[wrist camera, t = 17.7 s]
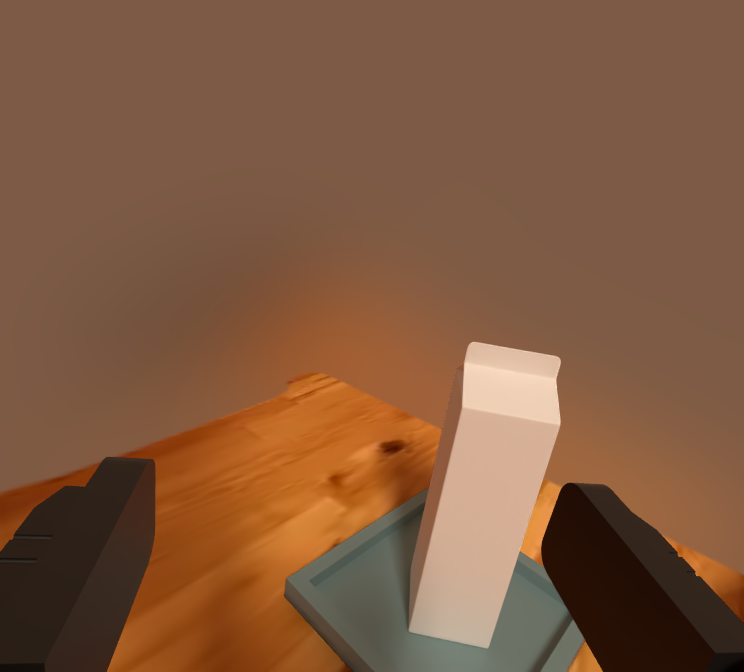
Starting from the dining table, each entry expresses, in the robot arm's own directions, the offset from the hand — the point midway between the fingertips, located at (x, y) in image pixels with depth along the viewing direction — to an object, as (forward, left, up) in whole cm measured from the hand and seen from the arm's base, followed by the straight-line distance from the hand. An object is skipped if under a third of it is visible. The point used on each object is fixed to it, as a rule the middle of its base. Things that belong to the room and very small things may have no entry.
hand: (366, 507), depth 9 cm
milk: (-7, +21, -25) cm, 34 cm away
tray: (-7, +22, -26) cm, 34 cm away
